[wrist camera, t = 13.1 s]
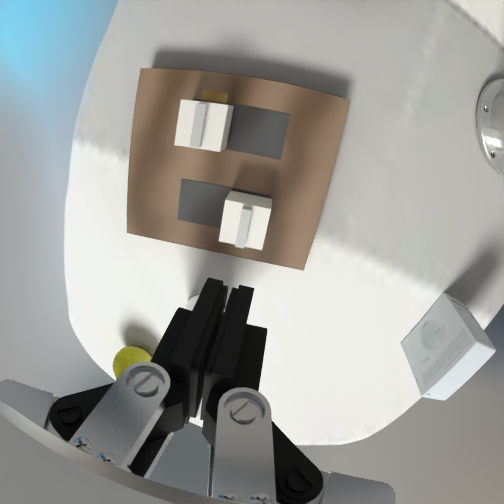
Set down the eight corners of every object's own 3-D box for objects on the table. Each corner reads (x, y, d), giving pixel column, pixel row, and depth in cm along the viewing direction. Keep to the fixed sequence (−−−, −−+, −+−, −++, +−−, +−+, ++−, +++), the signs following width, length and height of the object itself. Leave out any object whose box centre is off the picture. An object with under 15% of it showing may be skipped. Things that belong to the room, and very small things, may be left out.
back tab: (272, 199, 27) (270, 212, 24) (263, 236, 29) (261, 254, 26) (230, 190, 27) (223, 202, 24) (224, 228, 29) (216, 244, 26)
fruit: (163, 347, 42) (137, 408, 32) (159, 371, 46) (137, 427, 35) (123, 331, 42) (91, 388, 31) (123, 357, 45) (96, 409, 34)
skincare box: (425, 352, 39) (445, 402, 30) (399, 342, 38) (419, 397, 29) (467, 304, 34) (498, 351, 25) (443, 290, 33) (477, 341, 24)
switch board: (344, 101, 25) (350, 100, 23) (302, 259, 33) (303, 270, 31) (151, 70, 25) (140, 68, 22) (136, 224, 33) (126, 232, 31)
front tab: (233, 105, 24) (226, 104, 20) (226, 147, 26) (217, 153, 22) (191, 100, 24) (177, 99, 20) (184, 141, 25) (170, 146, 22)
